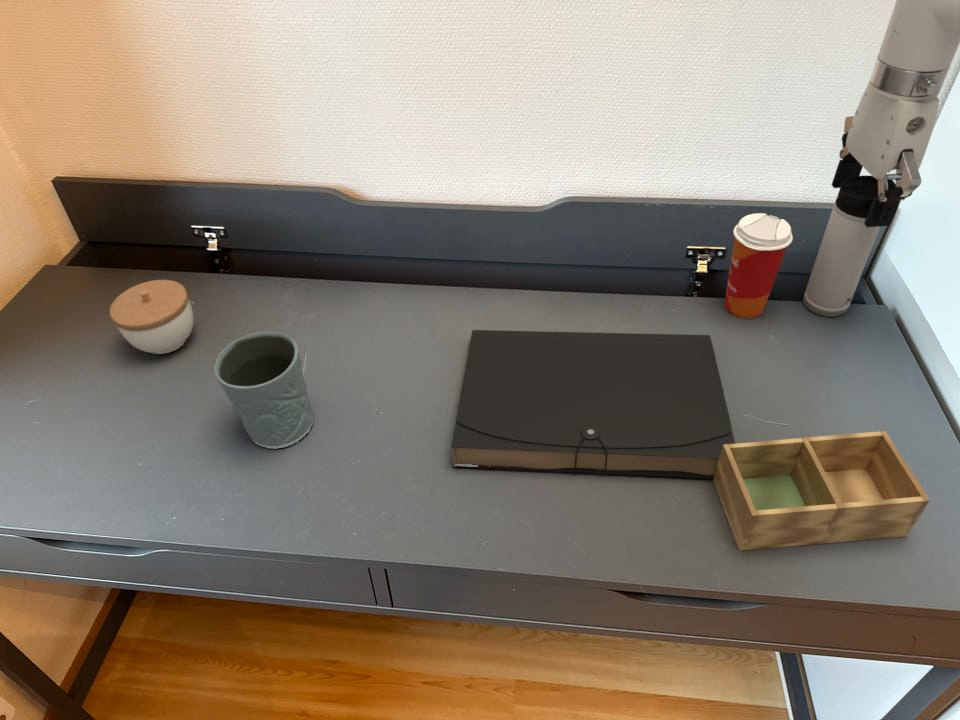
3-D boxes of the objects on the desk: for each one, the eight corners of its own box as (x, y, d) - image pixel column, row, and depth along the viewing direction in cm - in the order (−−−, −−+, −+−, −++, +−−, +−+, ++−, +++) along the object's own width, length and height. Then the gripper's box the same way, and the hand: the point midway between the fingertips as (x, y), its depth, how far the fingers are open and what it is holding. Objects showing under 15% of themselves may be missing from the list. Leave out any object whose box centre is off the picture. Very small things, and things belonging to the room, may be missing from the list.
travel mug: (856, 317, 102) (906, 194, 88) (810, 318, 102) (852, 196, 89) (841, 290, 107) (886, 170, 93) (797, 292, 107) (835, 172, 93)
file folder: (450, 446, 83) (473, 322, 101) (453, 469, 86) (474, 344, 104) (739, 458, 79) (709, 327, 97) (733, 481, 82) (704, 350, 100)
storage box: (866, 467, 83) (885, 430, 78) (906, 536, 76) (930, 500, 71) (712, 480, 82) (722, 444, 78) (739, 551, 76) (752, 515, 71)
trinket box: (166, 312, 112) (144, 263, 105) (218, 328, 108) (198, 279, 102) (114, 354, 105) (87, 305, 99) (168, 373, 101) (143, 324, 95)
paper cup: (731, 284, 109) (749, 205, 100) (779, 302, 105) (803, 222, 96) (707, 310, 105) (725, 230, 95) (757, 330, 101) (780, 249, 92)
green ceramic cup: (276, 466, 88) (249, 400, 79) (226, 431, 92) (195, 365, 84) (335, 416, 93) (315, 349, 85) (284, 386, 98) (261, 320, 90)
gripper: (983, 105, 75) (920, 239, 87) (902, 46, 88) (857, 171, 100) (913, 110, 75) (861, 244, 87) (843, 50, 88) (805, 175, 99)
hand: (859, 205), depth 93 cm, fingers open, 9 cm apart
